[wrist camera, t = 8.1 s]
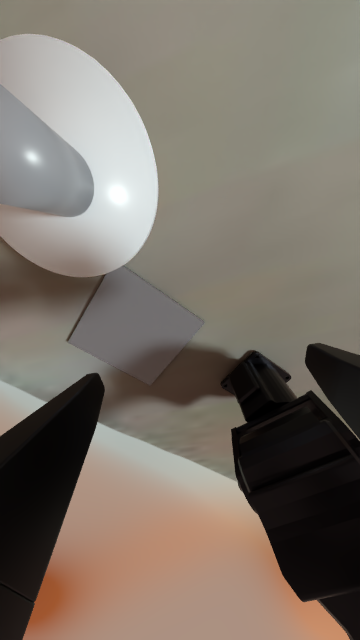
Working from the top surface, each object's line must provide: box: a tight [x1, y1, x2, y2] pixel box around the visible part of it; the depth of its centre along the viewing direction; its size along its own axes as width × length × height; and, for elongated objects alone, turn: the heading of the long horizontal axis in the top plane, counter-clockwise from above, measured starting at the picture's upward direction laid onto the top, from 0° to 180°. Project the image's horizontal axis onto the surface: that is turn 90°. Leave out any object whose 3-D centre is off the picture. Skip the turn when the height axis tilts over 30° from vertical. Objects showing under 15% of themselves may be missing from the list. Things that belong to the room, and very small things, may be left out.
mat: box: [68, 265, 205, 385], centre depth 20 cm, size 11×11×1 cm
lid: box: [0, 34, 159, 277], centre depth 9 cm, size 11×11×5 cm
